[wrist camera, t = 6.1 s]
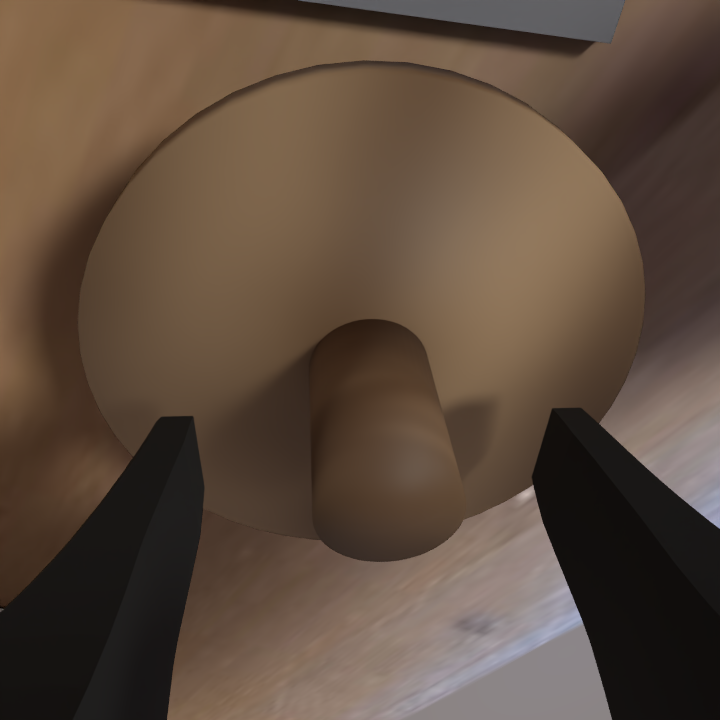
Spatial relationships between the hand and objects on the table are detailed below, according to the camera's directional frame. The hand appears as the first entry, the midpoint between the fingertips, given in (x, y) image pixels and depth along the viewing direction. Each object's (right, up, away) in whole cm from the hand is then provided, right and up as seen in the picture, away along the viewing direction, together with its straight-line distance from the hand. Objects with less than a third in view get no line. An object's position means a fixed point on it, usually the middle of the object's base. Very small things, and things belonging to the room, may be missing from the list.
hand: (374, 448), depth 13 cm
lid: (0, +2, +2) cm, 3 cm away
